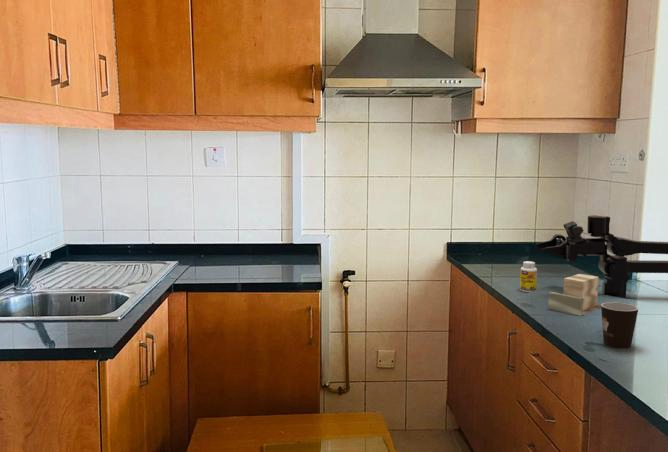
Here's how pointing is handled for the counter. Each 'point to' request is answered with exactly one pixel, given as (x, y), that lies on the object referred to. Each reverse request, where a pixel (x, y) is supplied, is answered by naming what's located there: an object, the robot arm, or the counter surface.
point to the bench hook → (568, 304)
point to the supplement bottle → (528, 277)
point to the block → (582, 288)
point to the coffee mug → (618, 324)
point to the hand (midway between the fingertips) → (539, 247)
